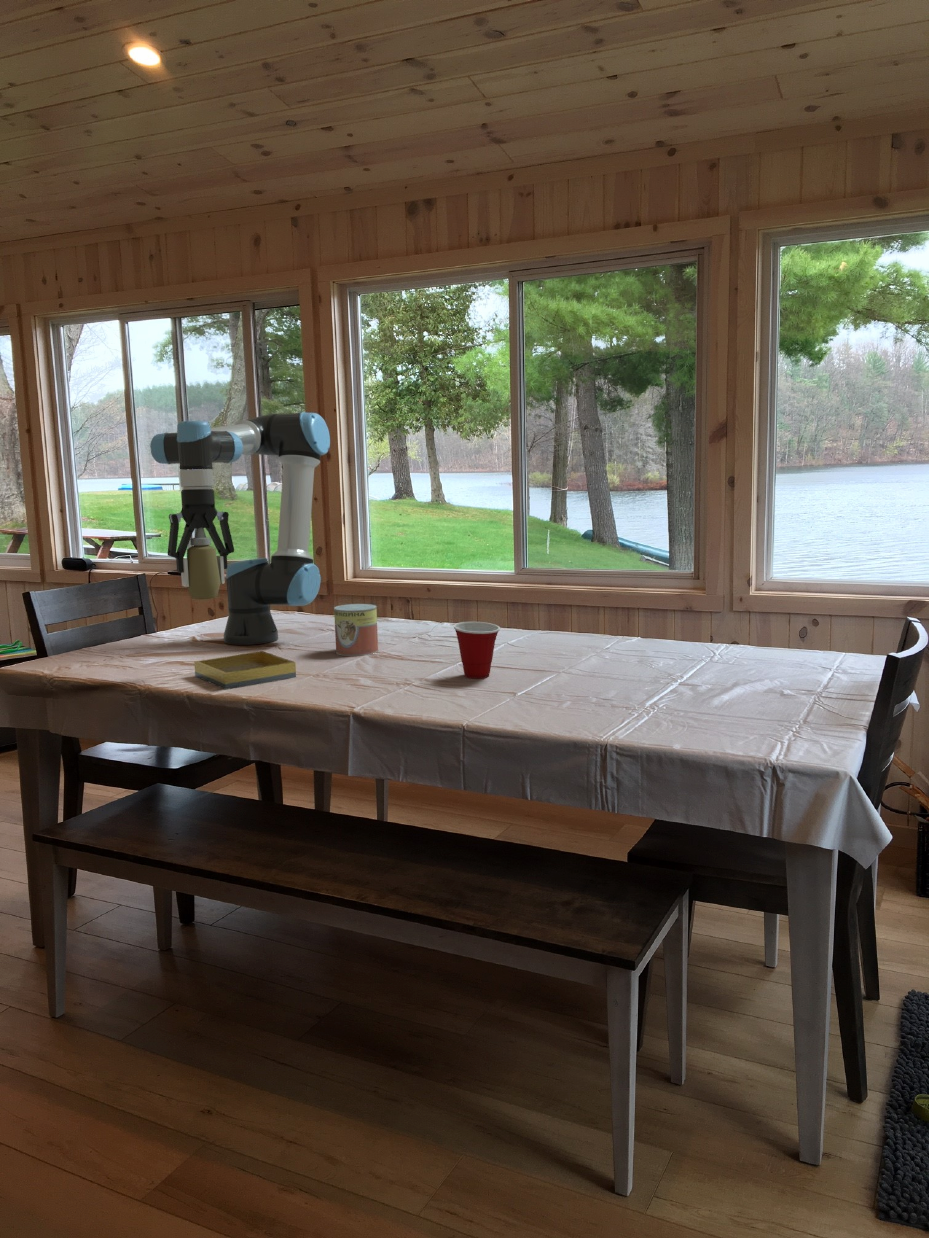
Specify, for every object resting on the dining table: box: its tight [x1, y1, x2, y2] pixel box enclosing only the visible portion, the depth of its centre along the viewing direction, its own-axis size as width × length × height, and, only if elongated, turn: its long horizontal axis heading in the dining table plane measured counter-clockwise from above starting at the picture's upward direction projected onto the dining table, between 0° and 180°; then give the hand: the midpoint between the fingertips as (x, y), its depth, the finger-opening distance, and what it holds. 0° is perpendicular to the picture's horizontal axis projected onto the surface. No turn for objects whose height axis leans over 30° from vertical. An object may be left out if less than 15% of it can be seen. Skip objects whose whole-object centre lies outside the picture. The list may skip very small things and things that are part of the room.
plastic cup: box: [453, 621, 501, 679], centre depth 215 cm, size 11×11×12 cm
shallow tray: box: [193, 650, 297, 690], centre depth 220 cm, size 18×18×4 cm
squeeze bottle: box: [186, 527, 221, 601], centre depth 220 cm, size 8×8×18 cm
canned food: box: [333, 603, 379, 657], centre depth 246 cm, size 11×11×12 cm
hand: (203, 584), depth 221 cm, fingers closed on squeeze bottle, 8 cm apart
